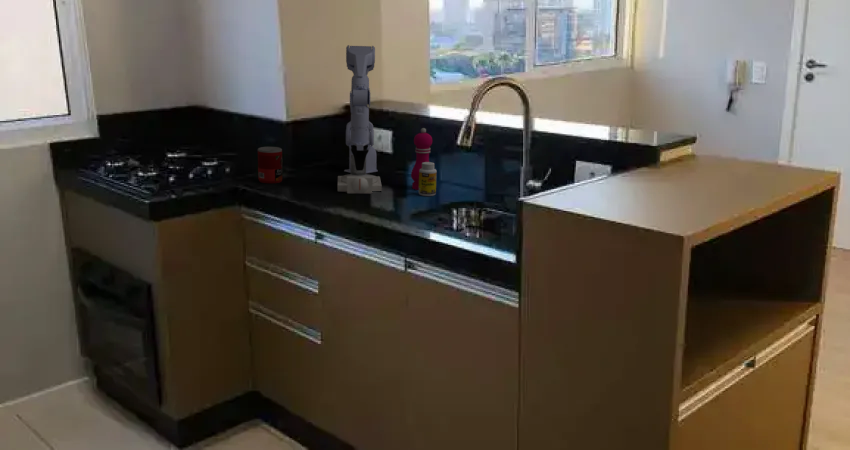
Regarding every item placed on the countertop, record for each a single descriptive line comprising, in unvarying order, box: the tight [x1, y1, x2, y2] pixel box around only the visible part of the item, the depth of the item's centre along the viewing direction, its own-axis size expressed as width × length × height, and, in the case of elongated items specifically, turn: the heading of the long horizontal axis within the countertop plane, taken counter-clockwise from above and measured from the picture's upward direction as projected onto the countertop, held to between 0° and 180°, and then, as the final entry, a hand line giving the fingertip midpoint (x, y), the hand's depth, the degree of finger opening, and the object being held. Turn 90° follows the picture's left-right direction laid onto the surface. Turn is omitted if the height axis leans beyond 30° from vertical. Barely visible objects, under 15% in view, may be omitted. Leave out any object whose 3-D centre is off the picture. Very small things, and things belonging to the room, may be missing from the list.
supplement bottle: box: [418, 161, 438, 197], centre depth 259 cm, size 6×6×10 cm
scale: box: [337, 173, 383, 194], centre depth 266 cm, size 17×14×5 cm
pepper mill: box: [410, 127, 433, 191], centre depth 265 cm, size 7×7×20 cm
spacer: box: [350, 155, 367, 175], centre depth 266 cm, size 5×5×6 cm
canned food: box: [257, 146, 283, 185], centre depth 270 cm, size 8×8×11 cm
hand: (359, 168), depth 266 cm, fingers closed on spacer, 5 cm apart
